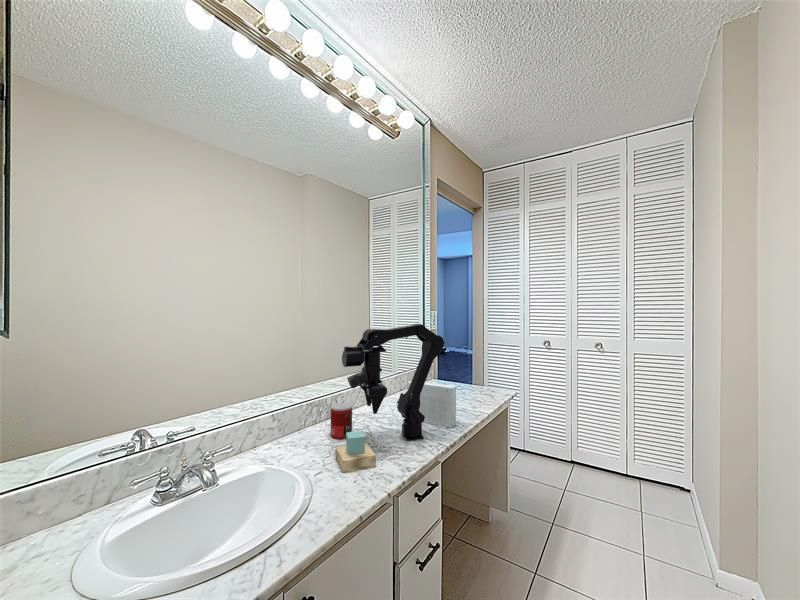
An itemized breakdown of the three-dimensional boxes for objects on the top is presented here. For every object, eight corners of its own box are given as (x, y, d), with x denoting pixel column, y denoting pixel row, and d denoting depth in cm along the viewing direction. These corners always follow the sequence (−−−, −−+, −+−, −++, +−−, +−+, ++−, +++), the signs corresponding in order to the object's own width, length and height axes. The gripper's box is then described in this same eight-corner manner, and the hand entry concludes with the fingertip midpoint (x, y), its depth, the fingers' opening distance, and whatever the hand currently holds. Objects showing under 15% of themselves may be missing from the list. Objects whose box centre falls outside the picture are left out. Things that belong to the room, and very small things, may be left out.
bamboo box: (365, 454, 110) (365, 441, 110) (375, 468, 101) (375, 454, 101) (335, 460, 106) (335, 446, 106) (343, 474, 97) (343, 460, 97)
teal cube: (362, 446, 106) (362, 430, 106) (364, 453, 101) (364, 436, 101) (346, 448, 105) (346, 432, 105) (348, 455, 100) (348, 438, 100)
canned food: (347, 440, 120) (348, 409, 120) (327, 438, 122) (327, 408, 122) (354, 432, 128) (355, 403, 128) (335, 431, 129) (335, 402, 130)
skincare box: (456, 424, 137) (456, 385, 137) (451, 428, 132) (451, 388, 133) (412, 415, 148) (412, 379, 149) (405, 419, 144) (406, 381, 144)
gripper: (345, 361, 124) (344, 404, 124) (354, 371, 106) (353, 420, 106) (374, 360, 128) (374, 401, 127) (387, 369, 110) (387, 417, 109)
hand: (371, 409), depth 117 cm, fingers open, 9 cm apart
